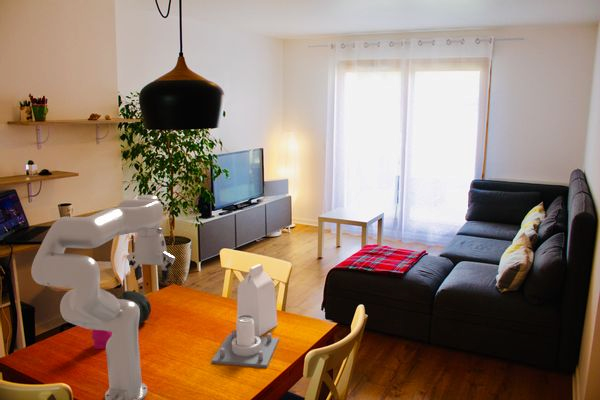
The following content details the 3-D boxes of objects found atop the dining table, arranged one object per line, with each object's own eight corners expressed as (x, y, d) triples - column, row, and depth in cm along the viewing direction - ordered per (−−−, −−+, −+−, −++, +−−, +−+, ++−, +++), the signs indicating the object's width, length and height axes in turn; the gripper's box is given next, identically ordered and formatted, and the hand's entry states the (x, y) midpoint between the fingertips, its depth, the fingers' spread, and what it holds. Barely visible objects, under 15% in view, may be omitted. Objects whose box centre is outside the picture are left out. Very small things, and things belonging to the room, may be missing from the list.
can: (233, 350, 184) (232, 320, 181) (243, 343, 189) (242, 313, 187) (248, 354, 181) (247, 323, 178) (258, 346, 186) (257, 316, 184)
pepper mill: (106, 350, 186) (101, 300, 182) (88, 348, 188) (83, 298, 184) (117, 341, 193) (112, 292, 189) (100, 339, 195) (95, 291, 191)
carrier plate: (267, 367, 174) (266, 357, 173) (211, 362, 177) (211, 352, 177) (278, 340, 193) (278, 330, 193) (228, 336, 197) (228, 327, 196)
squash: (163, 305, 213) (139, 278, 213) (144, 321, 199) (119, 293, 199) (142, 323, 218) (120, 297, 218) (122, 340, 204) (98, 312, 204)
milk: (259, 336, 197) (257, 273, 192) (236, 329, 203) (234, 267, 198) (277, 325, 207) (276, 264, 201) (255, 318, 213) (254, 259, 208)
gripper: (177, 229, 172) (180, 277, 176) (130, 227, 175) (134, 274, 179) (168, 235, 165) (171, 284, 168) (119, 233, 168) (123, 282, 171)
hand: (152, 279), depth 174 cm, fingers open, 9 cm apart
